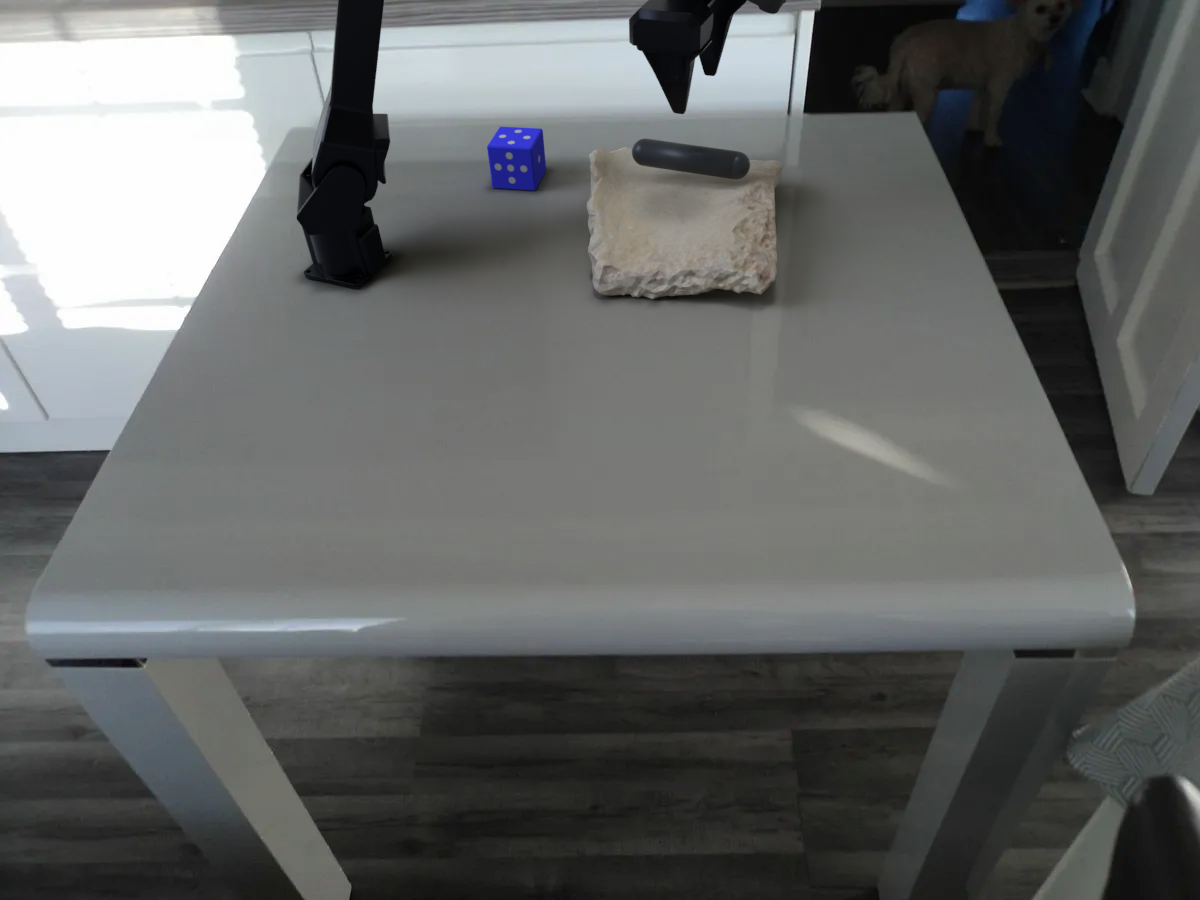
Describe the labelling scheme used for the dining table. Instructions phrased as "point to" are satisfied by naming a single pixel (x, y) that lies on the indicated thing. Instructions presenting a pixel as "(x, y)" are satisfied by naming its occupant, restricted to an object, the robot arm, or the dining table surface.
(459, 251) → the dining table surface
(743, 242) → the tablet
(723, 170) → the dark grey capsule
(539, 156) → the die
